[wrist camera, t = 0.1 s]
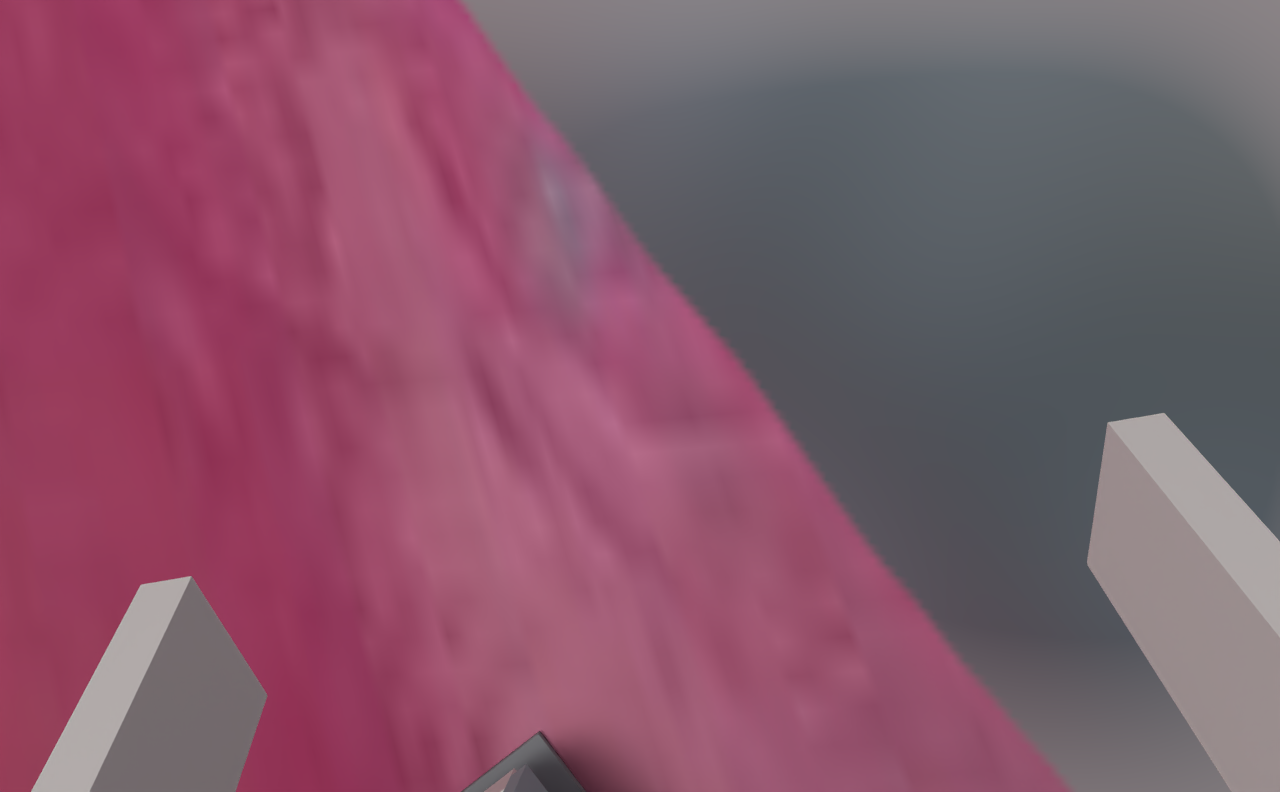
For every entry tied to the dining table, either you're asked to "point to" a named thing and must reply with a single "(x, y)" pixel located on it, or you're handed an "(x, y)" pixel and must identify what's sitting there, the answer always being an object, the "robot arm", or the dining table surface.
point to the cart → (518, 782)
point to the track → (532, 768)
